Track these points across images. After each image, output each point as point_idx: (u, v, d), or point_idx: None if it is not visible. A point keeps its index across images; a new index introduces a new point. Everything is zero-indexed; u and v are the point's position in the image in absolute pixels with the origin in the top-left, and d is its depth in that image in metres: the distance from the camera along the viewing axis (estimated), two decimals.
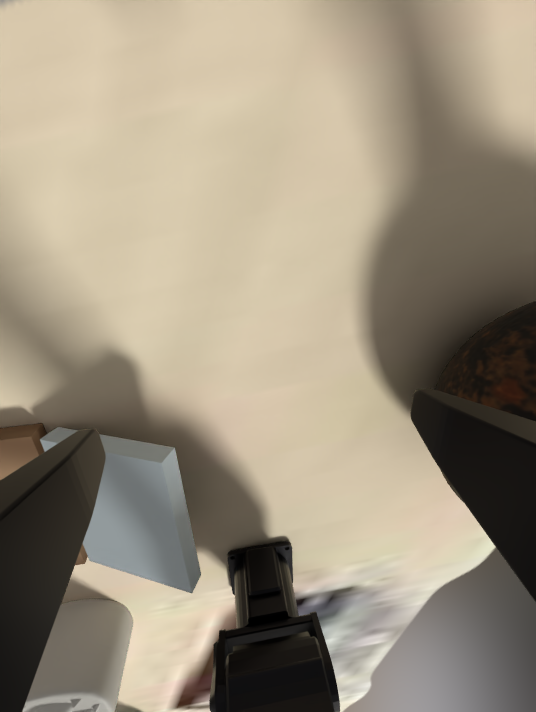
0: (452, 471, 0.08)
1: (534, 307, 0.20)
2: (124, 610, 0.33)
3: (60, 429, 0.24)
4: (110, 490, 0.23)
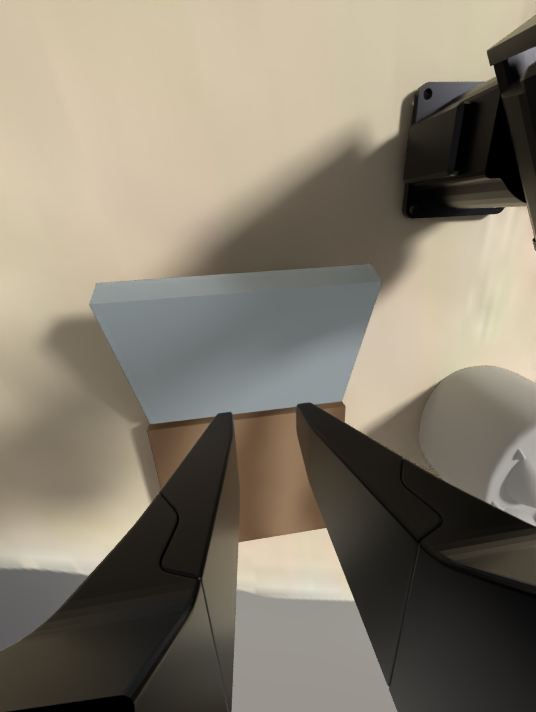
0: (316, 492, 0.08)
1: None
2: (459, 373, 0.25)
3: None
4: (192, 369, 0.18)
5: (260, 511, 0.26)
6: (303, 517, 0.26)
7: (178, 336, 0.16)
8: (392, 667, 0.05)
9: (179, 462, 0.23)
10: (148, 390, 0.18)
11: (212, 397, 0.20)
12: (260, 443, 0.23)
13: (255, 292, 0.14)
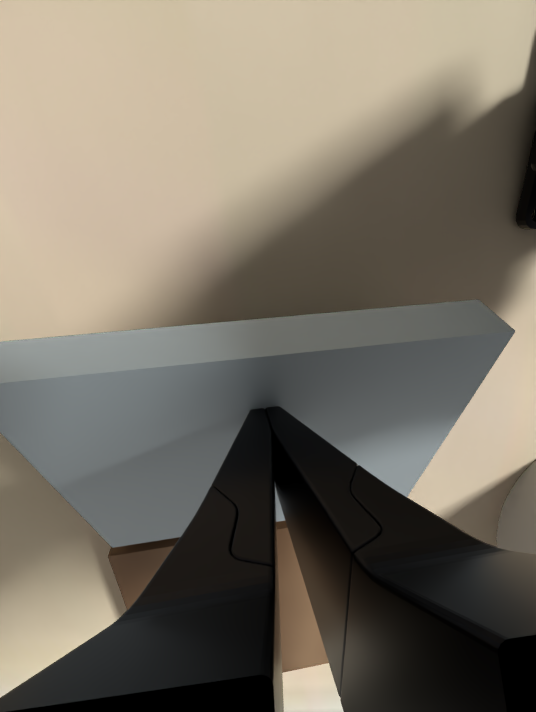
0: (281, 497, 0.08)
1: None
2: None
3: None
4: (173, 477, 0.10)
5: None
6: None
7: (144, 432, 0.09)
8: (341, 678, 0.05)
9: None
10: (102, 509, 0.11)
11: None
12: (280, 561, 0.15)
13: (285, 356, 0.08)
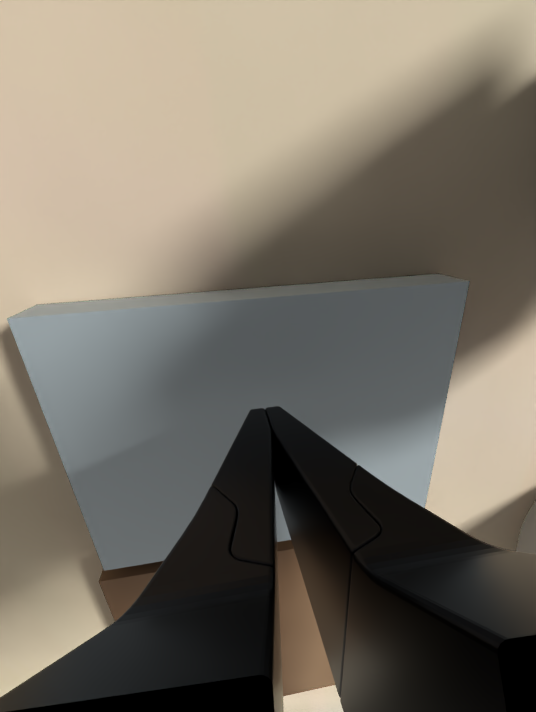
0: (281, 497, 0.08)
1: None
2: None
3: None
4: (176, 452, 0.11)
5: (284, 666, 0.17)
6: None
7: (153, 384, 0.10)
8: (341, 678, 0.05)
9: None
10: (101, 497, 0.11)
11: None
12: (288, 583, 0.14)
13: (276, 299, 0.09)
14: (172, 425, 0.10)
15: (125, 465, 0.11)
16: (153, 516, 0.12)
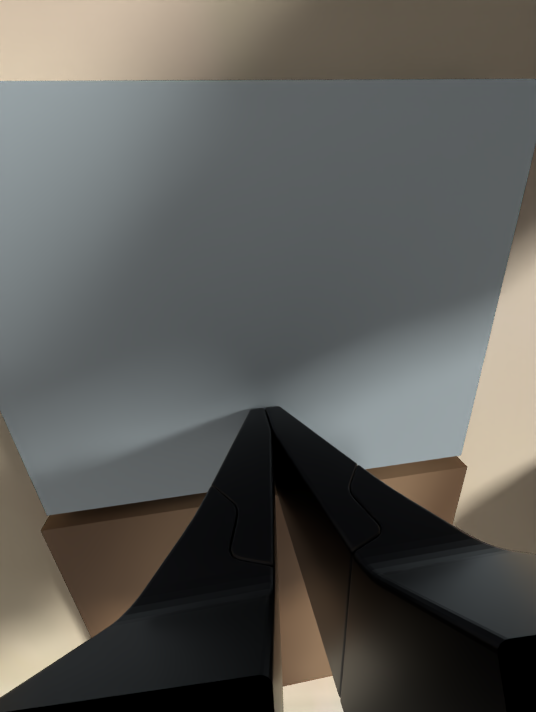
0: (281, 497, 0.08)
1: None
2: None
3: None
4: (135, 339, 0.08)
5: (284, 648, 0.14)
6: None
7: (95, 223, 0.07)
8: (341, 678, 0.05)
9: (121, 584, 0.11)
10: (33, 406, 0.08)
11: (184, 433, 0.09)
12: (289, 540, 0.11)
13: (272, 84, 0.06)
14: (127, 295, 0.07)
15: (63, 356, 0.08)
16: (108, 438, 0.09)
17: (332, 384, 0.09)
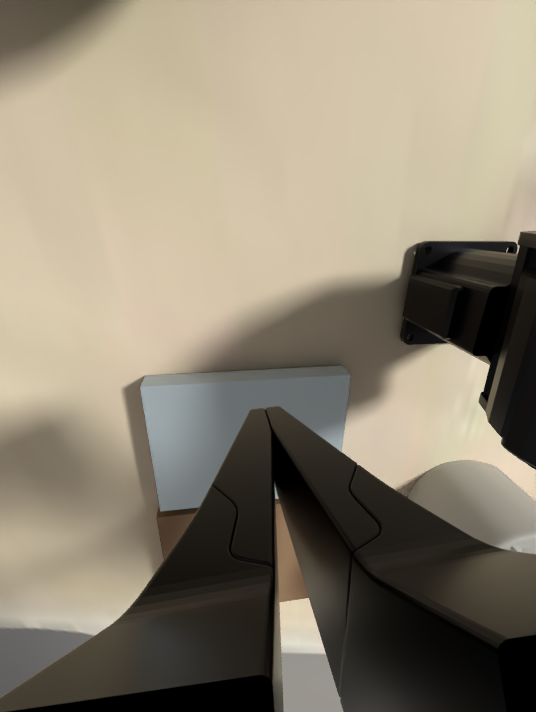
0: (281, 497, 0.08)
1: None
2: (441, 468, 0.27)
3: None
4: (206, 449, 0.21)
5: None
6: (294, 588, 0.28)
7: (199, 416, 0.20)
8: (341, 678, 0.05)
9: None
10: (166, 470, 0.21)
11: None
12: None
13: (259, 381, 0.20)
14: (205, 436, 0.21)
15: (180, 454, 0.21)
16: (190, 482, 0.22)
17: None
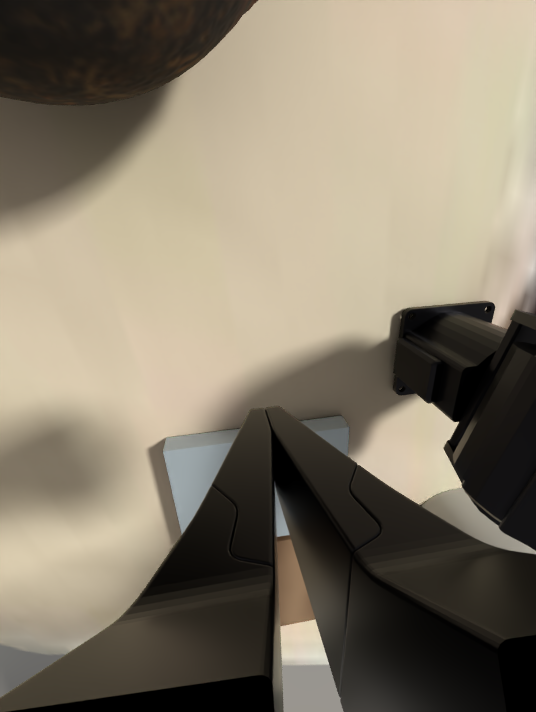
0: (281, 497, 0.08)
1: None
2: (440, 497, 0.29)
3: None
4: None
5: None
6: (310, 610, 0.31)
7: (215, 471, 0.23)
8: (341, 678, 0.05)
9: None
10: (189, 518, 0.24)
11: None
12: None
13: None
14: None
15: (200, 504, 0.24)
16: None
17: None
